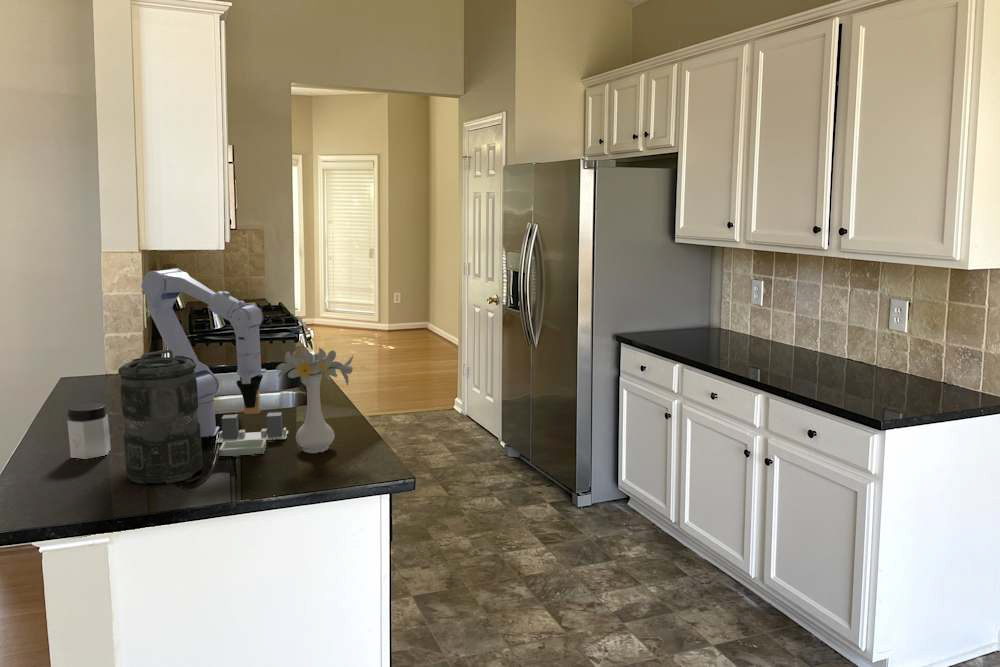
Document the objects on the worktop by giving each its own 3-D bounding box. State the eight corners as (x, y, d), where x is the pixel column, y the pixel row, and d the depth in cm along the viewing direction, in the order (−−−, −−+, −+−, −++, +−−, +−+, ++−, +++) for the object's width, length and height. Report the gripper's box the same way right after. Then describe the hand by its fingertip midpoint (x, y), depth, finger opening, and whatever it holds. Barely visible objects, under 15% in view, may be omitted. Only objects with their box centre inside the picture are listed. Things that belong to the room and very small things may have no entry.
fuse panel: (216, 444, 205) (215, 420, 204) (221, 436, 212) (219, 413, 211) (286, 440, 208) (285, 417, 207) (288, 432, 215) (287, 410, 214)
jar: (62, 458, 194) (58, 409, 192) (89, 448, 202) (84, 401, 200) (92, 461, 192) (88, 412, 190) (118, 451, 199) (114, 403, 197)
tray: (219, 457, 195) (218, 449, 194) (224, 448, 202) (223, 441, 201) (263, 454, 196) (263, 447, 196) (266, 445, 203) (266, 439, 203)
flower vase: (362, 450, 199) (359, 350, 195) (286, 462, 191) (281, 357, 187) (346, 437, 211) (342, 341, 206) (274, 447, 202) (269, 348, 198)
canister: (156, 491, 172) (146, 361, 167) (111, 478, 180) (101, 353, 176) (218, 470, 185) (210, 349, 181) (173, 458, 194) (165, 342, 189)
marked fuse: (244, 413, 207) (243, 392, 206) (246, 410, 210) (245, 389, 209) (258, 413, 207) (258, 392, 206) (260, 409, 211) (259, 389, 210)
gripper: (261, 358, 200) (264, 412, 202) (268, 347, 214) (270, 397, 216) (231, 359, 199) (234, 413, 201) (240, 348, 213) (242, 399, 215)
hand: (251, 405), depth 208 cm, fingers closed on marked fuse, 3 cm apart
